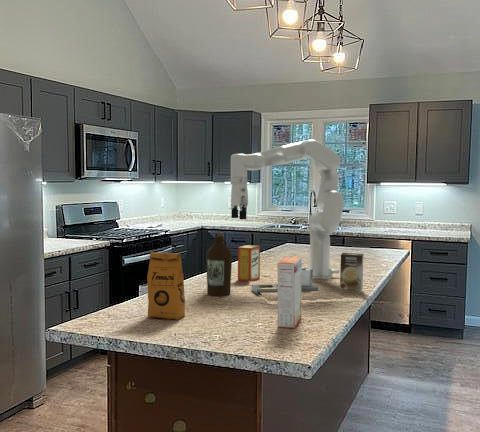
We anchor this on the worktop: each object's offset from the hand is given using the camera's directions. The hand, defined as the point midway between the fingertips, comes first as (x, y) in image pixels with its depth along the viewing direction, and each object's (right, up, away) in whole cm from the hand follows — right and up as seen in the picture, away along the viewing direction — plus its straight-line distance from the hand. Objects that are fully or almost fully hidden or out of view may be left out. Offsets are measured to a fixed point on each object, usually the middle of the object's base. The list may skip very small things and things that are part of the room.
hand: (238, 218), depth 243 cm
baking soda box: (+5, -29, +7) cm, 30 cm away
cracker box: (+17, -34, -70) cm, 79 cm away
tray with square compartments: (+19, -31, -20) cm, 41 cm away
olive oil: (-8, -31, -26) cm, 41 cm away
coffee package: (-24, -33, -63) cm, 75 cm away
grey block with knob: (+27, -29, -19) cm, 44 cm away
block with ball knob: (+29, -30, -9) cm, 43 cm away
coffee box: (+48, -31, -19) cm, 60 cm away
